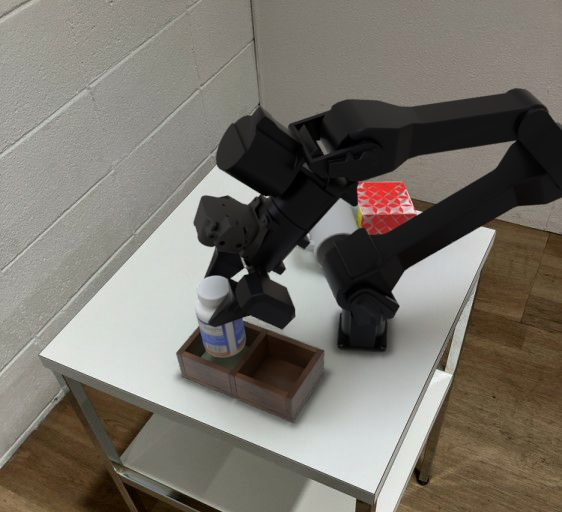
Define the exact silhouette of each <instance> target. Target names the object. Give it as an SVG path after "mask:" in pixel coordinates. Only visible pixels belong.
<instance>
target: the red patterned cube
mask: <svg viewBox="0 0 562 512" xmlns="http://www.w3.org/2000/svg"><path fill="white" fill-rule="evenodd" d="M358 182H359V184H358V188H357V194H358V205H357V206H356V207H353V206H351V205H350V204H349V205H350V207H351V209H352V211H353V214H354V217H355V220H356V223H357V226H358V229H359V228H362V227H364V228H365V229H366V230H367V232H368V234H369V235H374V234H385V233H387V232H389V231H391V230H393V229H394V228H396V227H398V226H399V225H401V224H403V223H405V222H406V221H408V220H410V219H411V218H413V217H415V216H416V215H418V212H417V211H416V208H415V206H414V204H413V201H412V199H411V197H410V195H409V192H408V189H407V188H406V185H405V183H404V181H358Z"/></svg>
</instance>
